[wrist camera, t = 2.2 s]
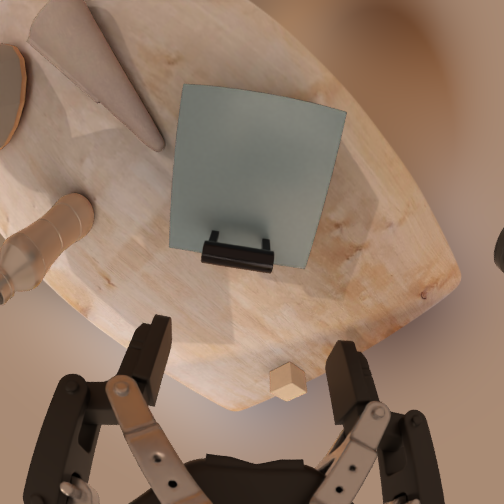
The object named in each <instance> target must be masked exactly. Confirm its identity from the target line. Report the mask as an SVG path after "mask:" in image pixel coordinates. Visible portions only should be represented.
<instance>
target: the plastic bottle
mask: <svg viewBox="0 0 504 504" xmlns="http://www.w3.org/2000/svg"><path fill="white" fill-rule="evenodd" d="M93 222H94V212H93V208H92V206H91V204H90V202H89V201H88V200H87V199H86V198H85V197H84V196H82V195H80V194H78V193H70V194H67V195H65V196H63V197H61V198H60V199H59V200H58V201H57V202H56V203H55V204H54V206H53V207H52V208H51V209H50V210H49V211H48V212H47V213H46V214H45V215H43V216H42V217H41V218H40V219H38V220H37V221H35V222H34V223H32V224H31V225H29V226H28V227H26V228H24V229H22V230H21V231H19V232H17V233H15V234H13V235H11V236H10V237H8V238H7V239H6V240H5V242H4V244H3V245H2V247H1V249H0V305H1V306H2V305H4V304H5V303H6V302H7V301H8V300H9V299H11V298H12V297H13V296H14V293H15V291H21V292H22V291H30V290H32V289H34V288H35V287H37V286H38V285H39V284H40V282H41V281H42V280H43V278H44V276H45V275H46V273H47V272H48V270H49V268H50V267H51V265H52V264H53V263H54V262H55V260H56V259H57V258H58V257H59V256H60V255H61V253H62V252H63V251H64V250H66V249H67V248H68V247H69V246H71V245H72V244H73V243H75V242H77V241H79V240H80V239H82V238H83V237H85V236H86V235H87V234H88V232H89V231H90V229H91V228H92V225H93Z"/></svg>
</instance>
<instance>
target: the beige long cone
mask: <svg viewBox="0 0 504 504" xmlns="http://www.w3.org/2000/svg"><path fill="white" fill-rule="evenodd" d="M27 42H28V43H29V44H30V45H31V46H32V47H33V48H35V49H36V50H37V51H38V52H39V53H40V54H41V55H43V56H44V57H45V58H46V59H47V60H48V61H49V62H51V63H52V64H53V65H54V66H55V67H56V68H57V69H59V70H60V71H61V72H62V73H63V74H64V75H65V76H67V77H68V78H69V79H70V80H71V81H72V82H73V83H74V84H76V85H77V86H78V87H79V88H80V89H81V90H82V91H84V92H85V93H86V94H87V95H88V96H89V97H90V98H91V99H93V100H94V101H95V102H96V103H101V104H103V105H104V106H105V107H106V108H107V109H108V110H109V111H110V112H111V113H112V114H113V115H114V116H115V117H117V118H118V119H119V120H120V121H121V122H122V123H123V124H125V125H126V126H127V127H128V128H129V129H130V130H131V131H132V132H133V133H134V134H135V135H136V136H137V137H138V138H139V139H140V140H141V141H142V142H143V143H144V144H146V145H147V146H148V147H150V148H151V149H153V150H154V151H156V152H161V151H162V150H163V149H164V146H165V143H164V140H163V138H162V136H161V135H160V133H159V131H158V129H157V128H156V126H155V124H154V122H153V120H152V118H151V117H150V115H149V113H148V111H147V110H146V108H145V106H144V105H143V103H142V101H141V100H140V98H139V96H138V94H137V93H136V91H135V89H134V88H133V86H132V84H131V83H130V81H129V79H128V77H127V76H126V74H125V72H124V71H123V69H122V67H121V65H120V64H119V62H118V60H117V58H116V57H115V55H114V53H113V52H112V50H111V48H110V46H109V45H108V43H107V41H106V39H105V37H104V36H103V34H102V32H101V30H100V29H99V27H98V25H97V23H96V22H95V20H94V18H93V16H92V15H91V13H90V11H89V9H88V7H87V5H86V3H85V1H84V0H50V1H49V2H48V3H47V4H46V5H45V6H44V7H43V8H42V9H41V10H40V12H39V13H38V14H37V16H36V17H35V19H34V21H33V23H32V25H31V28H30V33H29V38H28V39H27Z"/></svg>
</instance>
